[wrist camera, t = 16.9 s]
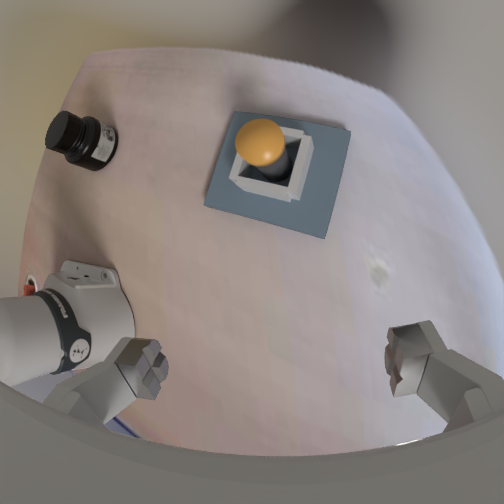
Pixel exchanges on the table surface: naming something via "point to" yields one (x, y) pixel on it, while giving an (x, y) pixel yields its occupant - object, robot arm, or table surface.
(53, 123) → the ink bottle
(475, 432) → the robot arm
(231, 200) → the mount
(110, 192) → the table surface
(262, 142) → the knob
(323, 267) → the table surface
